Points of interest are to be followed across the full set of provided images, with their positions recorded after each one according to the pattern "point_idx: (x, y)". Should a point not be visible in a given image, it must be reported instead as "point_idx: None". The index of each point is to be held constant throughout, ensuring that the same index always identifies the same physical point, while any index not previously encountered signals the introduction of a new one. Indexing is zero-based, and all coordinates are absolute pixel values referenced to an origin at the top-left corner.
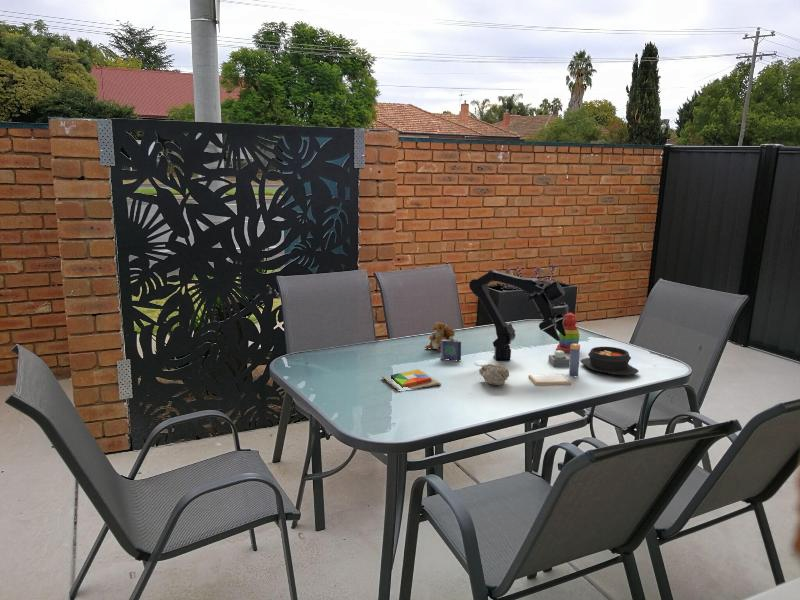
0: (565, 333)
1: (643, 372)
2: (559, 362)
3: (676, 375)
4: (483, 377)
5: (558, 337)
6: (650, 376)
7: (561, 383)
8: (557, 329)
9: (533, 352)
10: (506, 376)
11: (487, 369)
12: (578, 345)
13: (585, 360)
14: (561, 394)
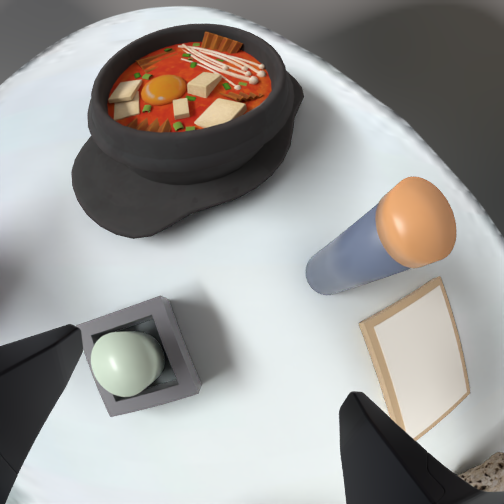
0: (61, 332)
1: None
2: (185, 355)
3: (208, 13)
4: None
5: (385, 413)
6: None
7: (448, 310)
8: (30, 442)
9: None
10: (493, 462)
11: None
12: (433, 192)
13: (128, 209)
14: (497, 297)
